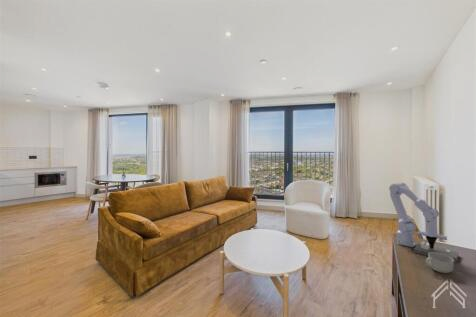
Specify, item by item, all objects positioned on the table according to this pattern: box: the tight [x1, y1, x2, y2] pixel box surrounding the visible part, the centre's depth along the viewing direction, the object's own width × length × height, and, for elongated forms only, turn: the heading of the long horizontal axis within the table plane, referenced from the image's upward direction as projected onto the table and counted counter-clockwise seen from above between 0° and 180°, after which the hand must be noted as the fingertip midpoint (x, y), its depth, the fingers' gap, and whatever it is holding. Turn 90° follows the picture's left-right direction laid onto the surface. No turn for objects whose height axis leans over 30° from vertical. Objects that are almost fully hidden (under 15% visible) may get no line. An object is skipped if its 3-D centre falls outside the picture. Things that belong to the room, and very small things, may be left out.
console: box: [413, 243, 459, 263], centre depth 142 cm, size 20×12×2 cm, turn 41°
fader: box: [420, 241, 430, 250], centre depth 146 cm, size 4×5×3 cm
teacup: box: [425, 252, 455, 274], centre depth 123 cm, size 14×11×8 cm
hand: (432, 248), depth 143 cm, fingers closed
